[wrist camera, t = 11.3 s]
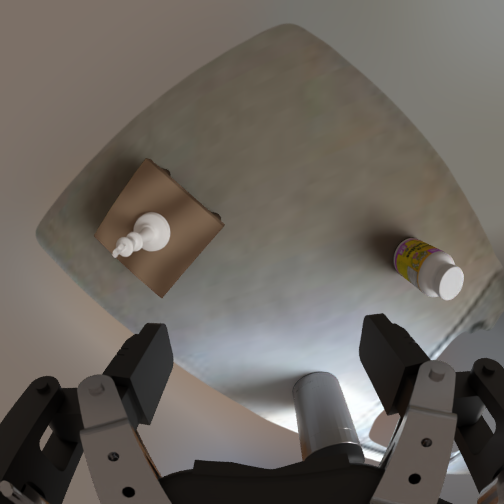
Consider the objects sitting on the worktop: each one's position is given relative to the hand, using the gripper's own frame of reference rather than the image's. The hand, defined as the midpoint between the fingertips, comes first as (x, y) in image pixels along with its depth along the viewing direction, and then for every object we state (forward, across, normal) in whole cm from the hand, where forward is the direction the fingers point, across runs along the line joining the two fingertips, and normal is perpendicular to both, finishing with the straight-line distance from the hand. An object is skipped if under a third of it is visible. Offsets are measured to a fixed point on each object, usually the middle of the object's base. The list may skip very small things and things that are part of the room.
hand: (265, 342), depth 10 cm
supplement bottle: (+30, -25, +6) cm, 40 cm away
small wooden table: (+30, +13, -1) cm, 33 cm away
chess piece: (+23, +13, -1) cm, 27 cm away
